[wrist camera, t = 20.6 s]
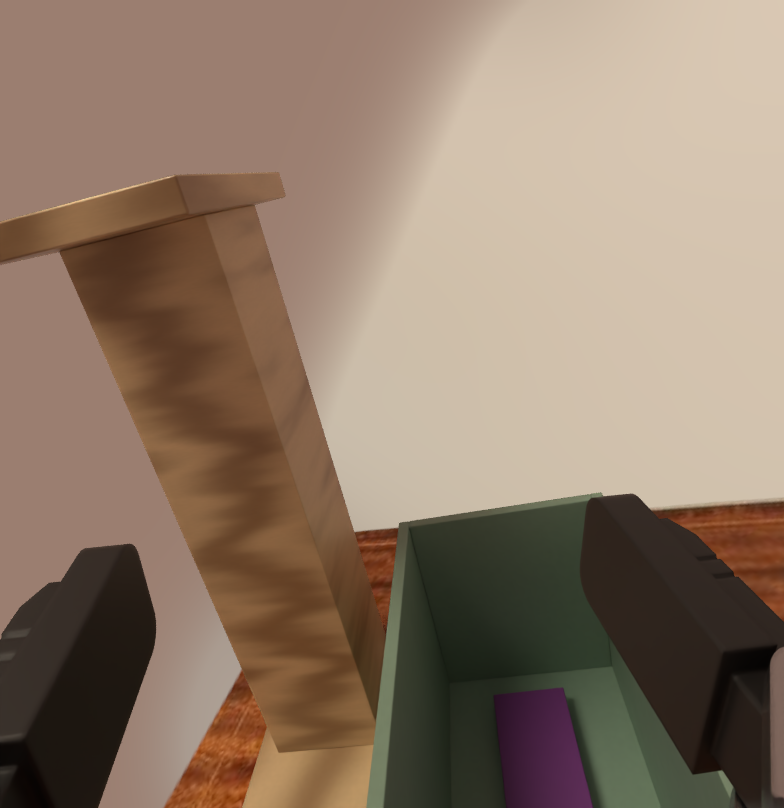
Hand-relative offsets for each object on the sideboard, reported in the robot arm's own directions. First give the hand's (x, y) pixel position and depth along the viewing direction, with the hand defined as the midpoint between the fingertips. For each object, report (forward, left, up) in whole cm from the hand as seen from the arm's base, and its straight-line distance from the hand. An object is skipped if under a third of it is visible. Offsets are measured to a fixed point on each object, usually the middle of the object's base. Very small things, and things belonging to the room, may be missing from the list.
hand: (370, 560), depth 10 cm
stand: (-10, +16, -24) cm, 31 cm away
